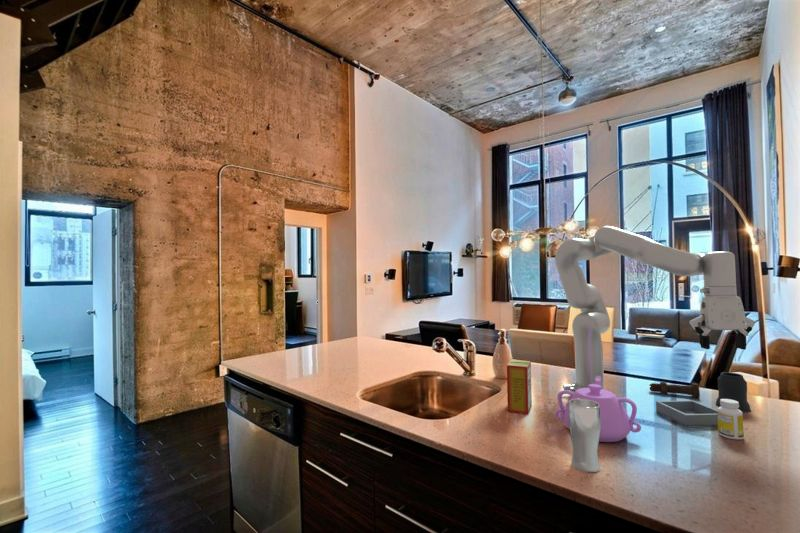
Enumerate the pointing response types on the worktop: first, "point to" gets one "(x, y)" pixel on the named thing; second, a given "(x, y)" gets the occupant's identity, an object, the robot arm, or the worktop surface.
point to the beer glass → (585, 433)
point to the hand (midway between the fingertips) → (723, 348)
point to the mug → (733, 389)
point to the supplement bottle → (730, 419)
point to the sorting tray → (688, 413)
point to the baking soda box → (519, 387)
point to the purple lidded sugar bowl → (603, 411)
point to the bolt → (676, 389)
